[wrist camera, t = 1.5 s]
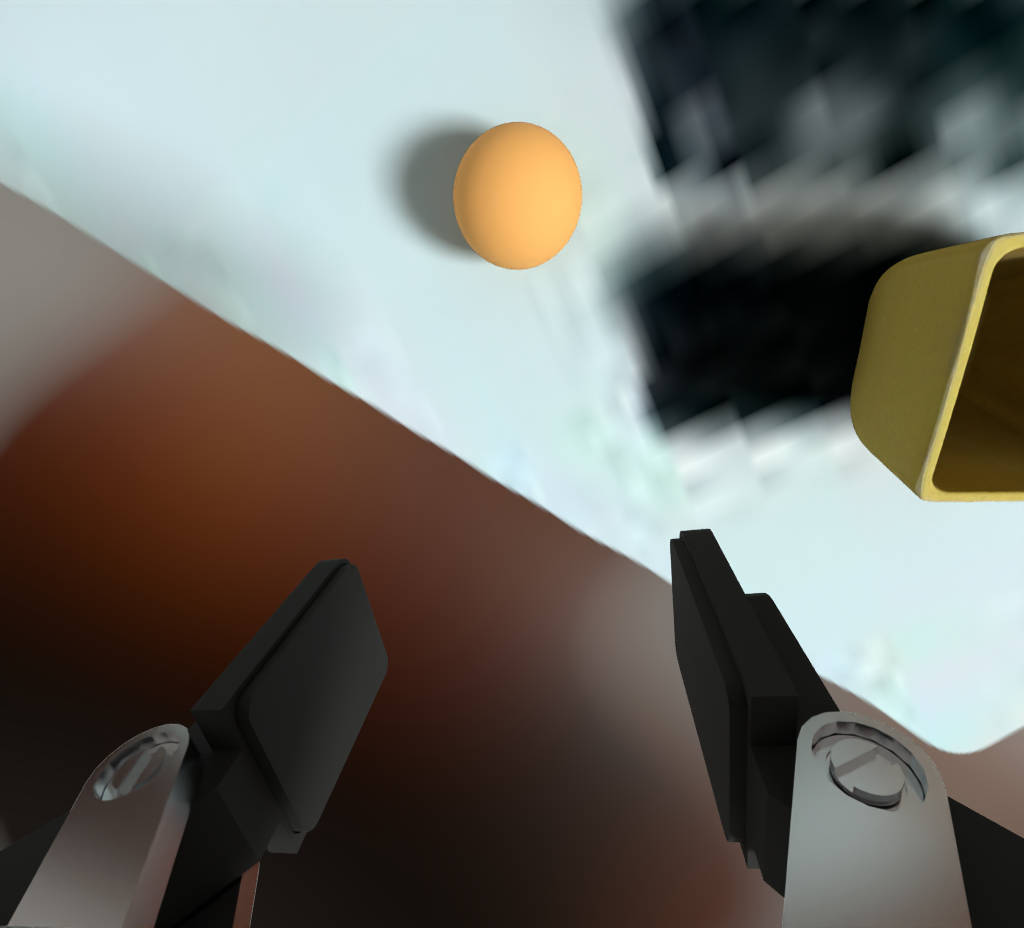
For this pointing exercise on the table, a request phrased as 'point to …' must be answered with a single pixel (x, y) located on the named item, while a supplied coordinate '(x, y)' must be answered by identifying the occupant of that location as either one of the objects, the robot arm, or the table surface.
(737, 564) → the table surface
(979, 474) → the flower pot
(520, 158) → the ball
